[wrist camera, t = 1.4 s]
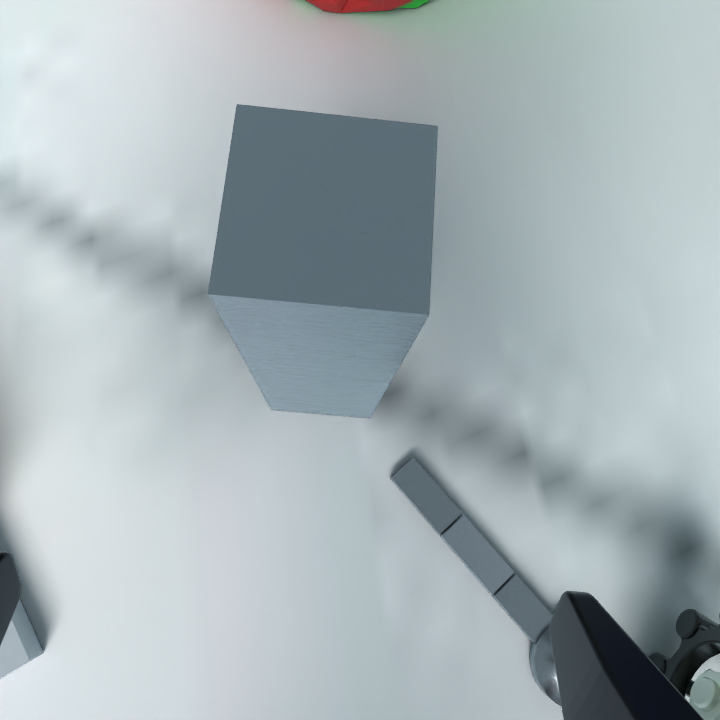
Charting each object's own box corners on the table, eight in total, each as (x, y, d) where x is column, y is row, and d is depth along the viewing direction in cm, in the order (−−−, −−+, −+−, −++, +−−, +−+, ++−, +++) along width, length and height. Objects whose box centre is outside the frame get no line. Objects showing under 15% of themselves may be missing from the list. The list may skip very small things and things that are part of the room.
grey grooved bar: (623, 663, 21) (632, 667, 20) (570, 723, 20) (577, 730, 20) (428, 443, 23) (431, 442, 22) (373, 493, 22) (374, 493, 21)
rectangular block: (369, 418, 23) (429, 314, 10) (271, 409, 23) (208, 294, 10) (376, 324, 24) (437, 126, 11) (282, 316, 24) (236, 104, 11)
